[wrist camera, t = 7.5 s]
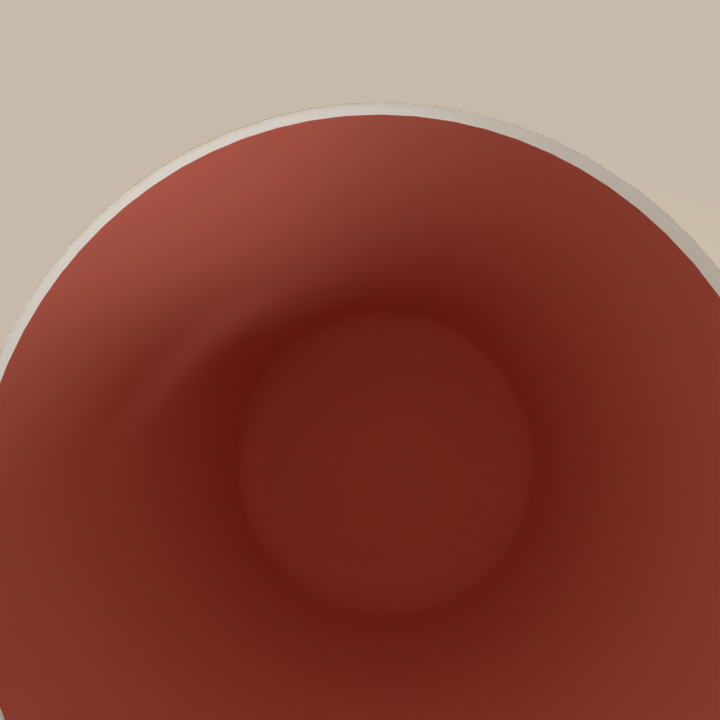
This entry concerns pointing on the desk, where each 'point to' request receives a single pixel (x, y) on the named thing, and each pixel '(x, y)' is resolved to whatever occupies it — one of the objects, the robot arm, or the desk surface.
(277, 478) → the cup
